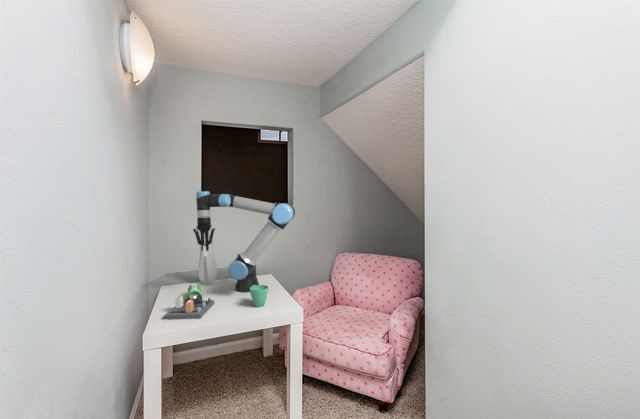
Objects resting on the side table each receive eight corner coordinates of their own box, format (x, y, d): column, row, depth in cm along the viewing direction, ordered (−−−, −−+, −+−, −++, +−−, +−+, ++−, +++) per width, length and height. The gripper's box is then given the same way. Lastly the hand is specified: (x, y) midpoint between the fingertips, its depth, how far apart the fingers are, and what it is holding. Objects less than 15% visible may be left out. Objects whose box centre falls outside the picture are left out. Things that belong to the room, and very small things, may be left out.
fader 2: (193, 309, 158) (193, 299, 157) (190, 312, 154) (190, 302, 153) (189, 309, 158) (188, 299, 157) (185, 312, 154) (185, 302, 153)
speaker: (201, 302, 176) (201, 289, 175) (187, 304, 173) (187, 291, 172) (200, 293, 192) (200, 281, 191) (188, 295, 189) (187, 283, 189)
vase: (221, 281, 218) (219, 235, 217) (211, 286, 207) (209, 237, 205) (205, 280, 221) (204, 235, 219) (195, 285, 210) (193, 237, 208)
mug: (271, 306, 166) (271, 288, 166) (254, 310, 161) (253, 291, 161) (261, 299, 179) (260, 282, 178) (244, 302, 173) (244, 285, 173)
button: (199, 300, 171) (199, 293, 171) (196, 302, 167) (196, 296, 167) (191, 300, 171) (191, 294, 171) (188, 303, 167) (187, 296, 167)
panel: (214, 303, 173) (213, 294, 173) (200, 318, 152) (200, 308, 152) (181, 304, 172) (181, 295, 172) (163, 319, 151) (163, 309, 151)
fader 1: (183, 305, 164) (182, 295, 164) (180, 308, 160) (179, 298, 160) (178, 305, 164) (178, 295, 164) (175, 308, 160) (175, 298, 160)
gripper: (216, 216, 189) (218, 254, 190) (195, 216, 188) (196, 255, 190) (212, 217, 181) (214, 256, 182) (190, 217, 181) (192, 257, 182)
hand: (205, 255), depth 186 cm, fingers closed
